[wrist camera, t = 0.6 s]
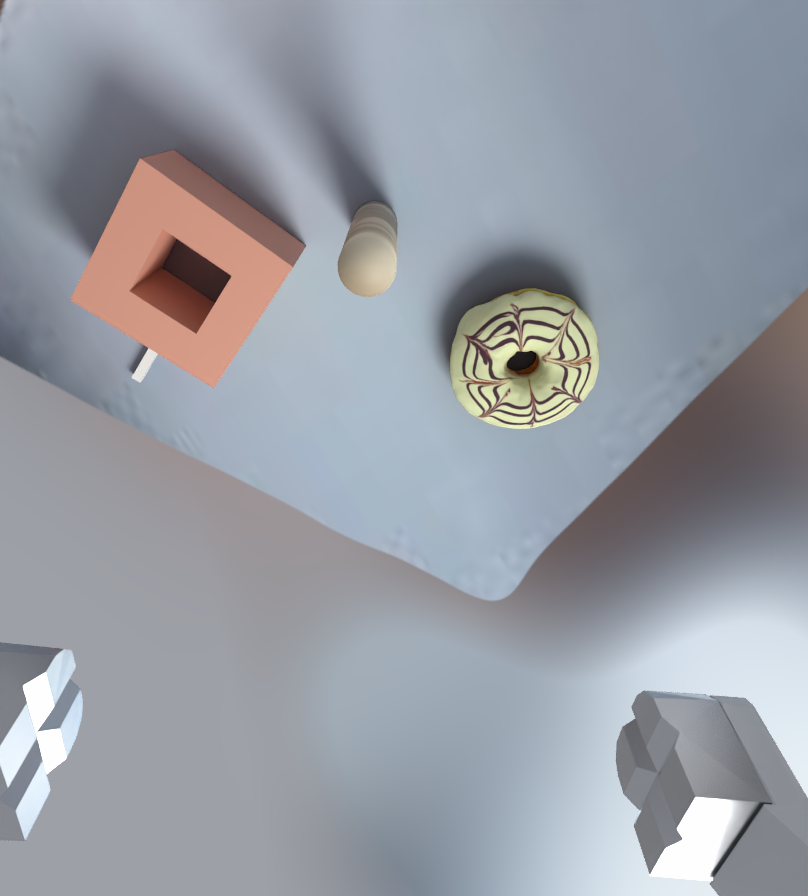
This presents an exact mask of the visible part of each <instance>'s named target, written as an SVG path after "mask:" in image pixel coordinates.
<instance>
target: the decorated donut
mask: <svg viewBox="0 0 808 896" xmlns="http://www.w3.org/2000/svg"><path fill="white" fill-rule="evenodd" d="M517 351H522V352H528V351H534V352H535V353H537V356H536V360H535V361H534V364H533V365H531V367H528V368H526V369H523V370H519V371H516V370H511V369H510V368H508V367H507V364H506V363H507V361H508V360H509V359H510V358H511V357H512V356H513V355H515V353H516V352H517ZM598 369H599V353H598V342H597V334H596V331H595V328H594V326H593V324H592V322H591V320H590V318H589V316H588V315H587V314H586V313H585V312H584V311H582V310H581V309H580V308H579V307H578V306H577V305H576V303H575V302H574V301H572V300H571V299H570V298H568V297H566V296H563V295H559V294H554V293H550V292H547V291H544V290H539V289H537V288H527V289H521V290H517V291H512V292H509V293H507V294H503V295H501V296H499V297H497V298H495V299H493V300H491V301H490V302H487V303H485V304H482V305H478V306H475V307H474V308H472V309H470V310H468V311H467V312H466V314H465V315H464V316H463V317H462V319H461V321H460V323H459V325H458V328H457V333H456V336H455V339H454V341H453V344H452V350H451V354H450V374H451V381H452V387H453V390H454V393H455V395H456V397H457V399H458V400H459V402H460V403H461V404H462V405H463V407H464V408H465V409H466V410H467V411H468V412H469V413H470V414H472V415H474V416H476V417H478V418H480V419H481V420H483V421H485V422H487V423H489V424H493V425H496V426H501V427H506V428H515V429H523V428H534V427H538V426H542V425H546V424H550V423H552V422H554V421H556V420H559V419H562V418H564V417H565V416H567V415H568V414H569V413H571V412H572V411H574V409H575V408H576V407H577V406H578V405H579V404H580V403H581V402H582V401H583V400H584V399H585V398H586V396H587V395H588V394H589V392H590V390H591V389H592V388H593V386H594V383H595V382H596V377H597V373H598Z"/></svg>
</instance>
